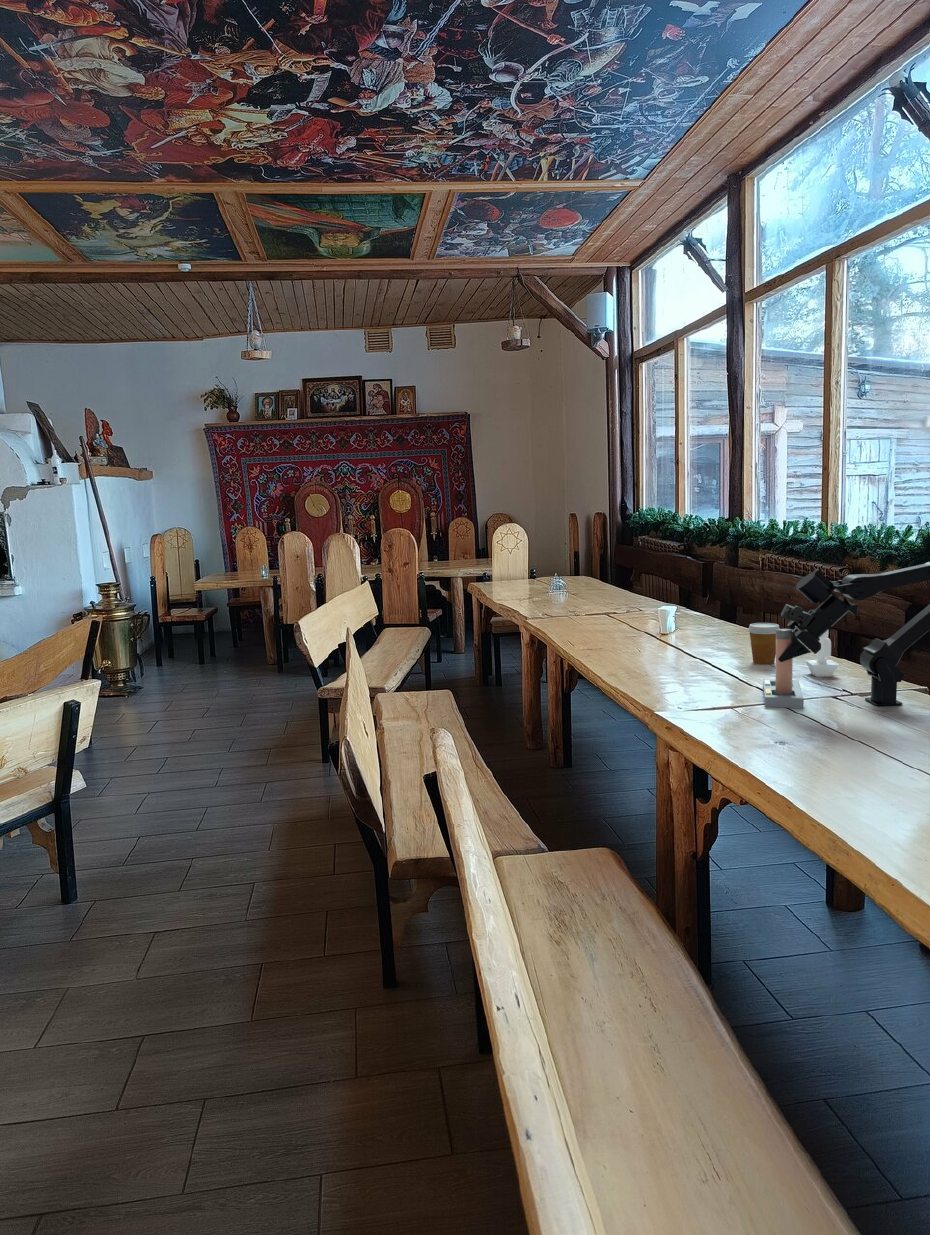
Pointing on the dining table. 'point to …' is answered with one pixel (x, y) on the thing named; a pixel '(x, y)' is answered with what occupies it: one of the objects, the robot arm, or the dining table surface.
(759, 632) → the disposable coffee cup
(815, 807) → the dining table surface
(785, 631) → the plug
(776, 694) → the socket plate
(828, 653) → the figurine
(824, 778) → the dining table surface
